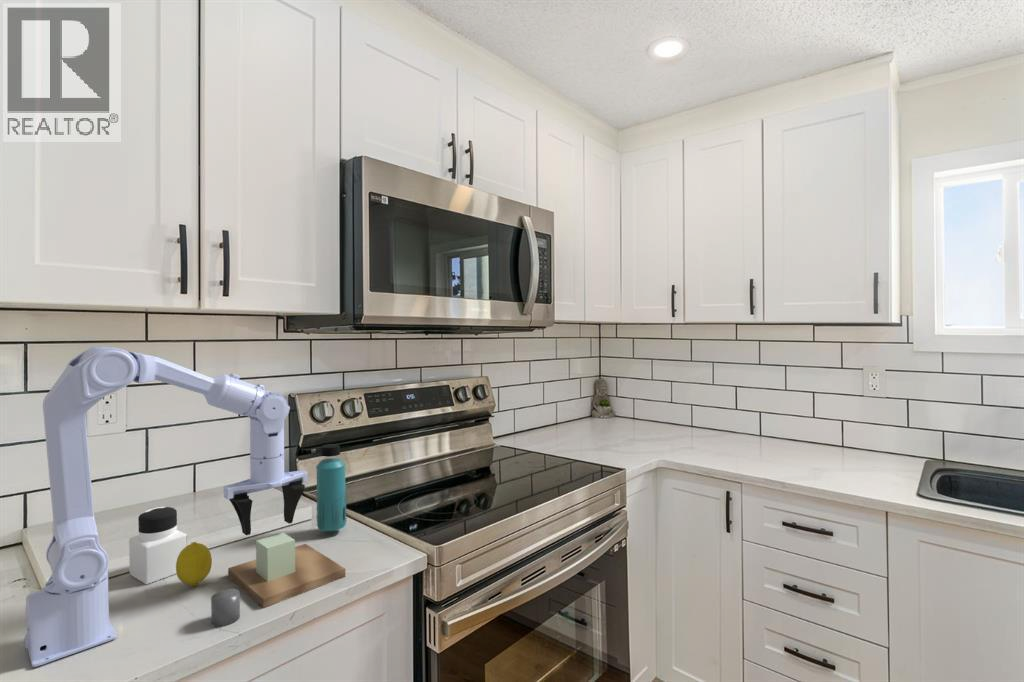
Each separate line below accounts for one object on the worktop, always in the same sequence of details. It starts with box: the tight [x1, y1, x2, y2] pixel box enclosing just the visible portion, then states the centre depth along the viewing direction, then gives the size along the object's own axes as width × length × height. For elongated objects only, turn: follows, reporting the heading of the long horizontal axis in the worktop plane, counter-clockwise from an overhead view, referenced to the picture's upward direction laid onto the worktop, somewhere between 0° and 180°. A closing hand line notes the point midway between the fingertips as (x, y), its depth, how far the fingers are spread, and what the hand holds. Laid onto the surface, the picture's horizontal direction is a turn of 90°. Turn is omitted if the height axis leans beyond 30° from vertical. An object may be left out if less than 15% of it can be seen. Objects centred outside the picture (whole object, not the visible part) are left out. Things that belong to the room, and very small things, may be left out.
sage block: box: [255, 532, 296, 581], centre depth 97 cm, size 5×5×6 cm
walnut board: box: [227, 543, 346, 609], centre depth 99 cm, size 15×16×2 cm
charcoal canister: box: [210, 588, 241, 628], centre depth 84 cm, size 4×4×4 cm
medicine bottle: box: [128, 506, 188, 585], centre depth 100 cm, size 7×7×12 cm
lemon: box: [176, 541, 213, 587], centre depth 95 cm, size 6×6×8 cm
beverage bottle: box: [315, 443, 348, 532], centre depth 119 cm, size 6×7×20 cm
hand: (268, 527), depth 98 cm, fingers open, 7 cm apart
